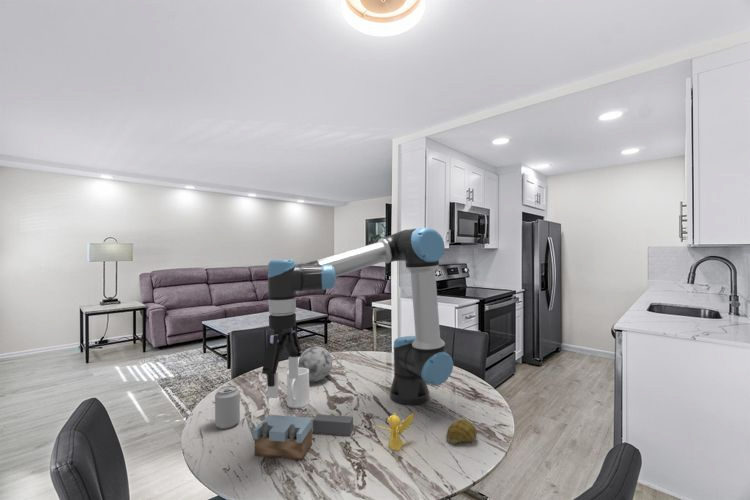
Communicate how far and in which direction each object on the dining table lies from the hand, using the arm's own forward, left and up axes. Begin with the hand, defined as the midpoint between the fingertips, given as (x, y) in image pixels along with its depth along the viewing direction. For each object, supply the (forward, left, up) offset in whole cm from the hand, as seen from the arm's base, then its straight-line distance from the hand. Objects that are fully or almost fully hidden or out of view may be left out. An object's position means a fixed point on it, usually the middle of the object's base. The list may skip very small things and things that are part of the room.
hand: (284, 387), depth 98 cm
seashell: (-50, -12, -18) cm, 55 cm away
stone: (+9, -52, -18) cm, 56 cm away
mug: (+8, -28, -18) cm, 34 cm away
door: (0, 0, -13) cm, 13 cm away
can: (+25, -11, -18) cm, 33 cm away
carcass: (0, 0, -18) cm, 18 cm away
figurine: (-29, -8, -18) cm, 35 cm away
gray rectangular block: (-11, -12, -18) cm, 24 cm away
